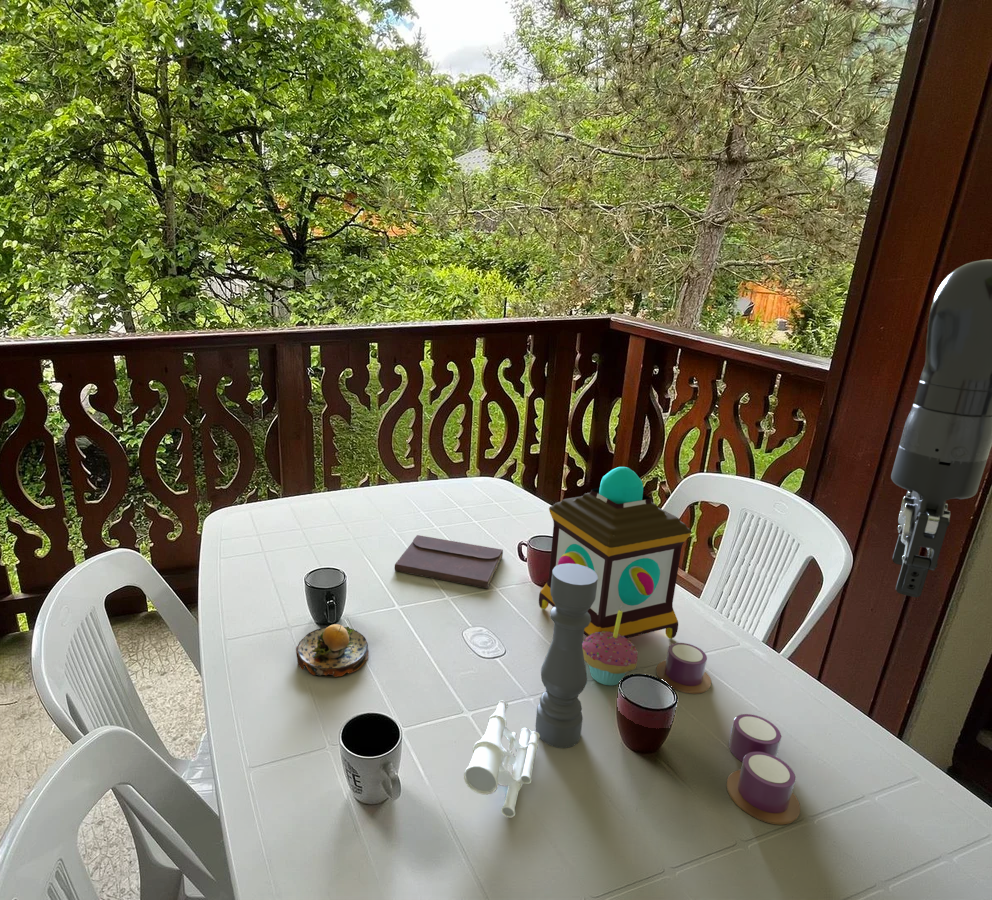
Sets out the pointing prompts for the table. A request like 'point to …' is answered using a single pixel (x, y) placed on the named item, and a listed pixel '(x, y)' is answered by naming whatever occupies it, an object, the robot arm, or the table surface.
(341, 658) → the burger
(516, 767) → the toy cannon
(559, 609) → the candle holder
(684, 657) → the purple cream-topped cylinder
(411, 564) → the brown flap folio case
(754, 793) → the purple short cylinder
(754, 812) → the near coaster
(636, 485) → the decorative lantern
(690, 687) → the far coaster
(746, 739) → the middle dish
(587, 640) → the cupcake
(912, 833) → the table surface
